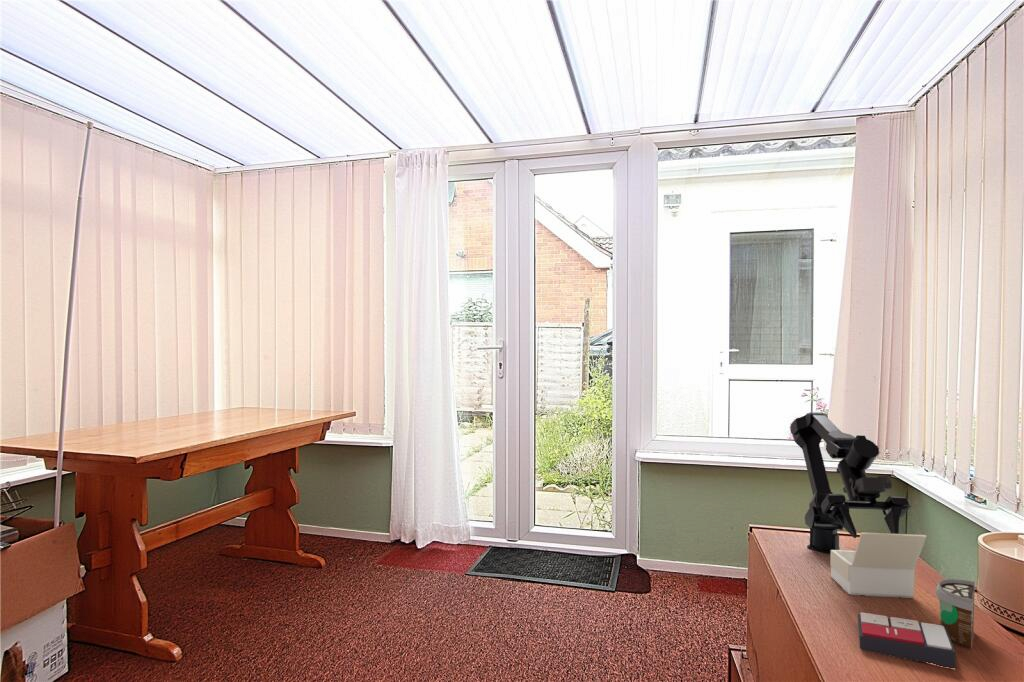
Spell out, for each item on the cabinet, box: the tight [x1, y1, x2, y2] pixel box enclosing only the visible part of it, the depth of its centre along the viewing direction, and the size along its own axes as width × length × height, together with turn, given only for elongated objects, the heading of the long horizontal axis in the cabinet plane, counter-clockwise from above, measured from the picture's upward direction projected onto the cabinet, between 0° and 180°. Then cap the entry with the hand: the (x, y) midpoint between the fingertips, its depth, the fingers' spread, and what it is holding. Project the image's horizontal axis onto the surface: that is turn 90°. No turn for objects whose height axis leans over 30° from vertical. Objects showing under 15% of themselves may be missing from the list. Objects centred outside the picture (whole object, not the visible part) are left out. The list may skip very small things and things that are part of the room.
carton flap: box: [851, 531, 927, 570], centre depth 138 cm, size 10×14×1 cm
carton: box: [829, 549, 916, 599], centre depth 145 cm, size 10×15×7 cm
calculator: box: [857, 612, 957, 669], centre depth 117 cm, size 11×4×15 cm
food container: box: [934, 578, 976, 651], centre depth 122 cm, size 12×6×10 cm, turn 141°
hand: (876, 538), depth 143 cm, fingers open, 9 cm apart
